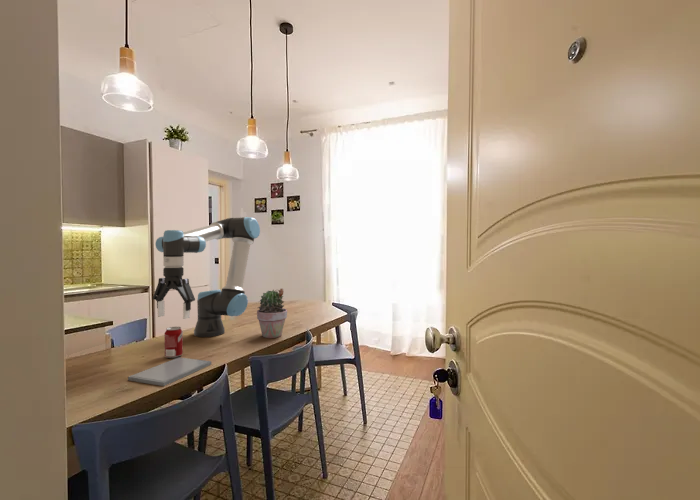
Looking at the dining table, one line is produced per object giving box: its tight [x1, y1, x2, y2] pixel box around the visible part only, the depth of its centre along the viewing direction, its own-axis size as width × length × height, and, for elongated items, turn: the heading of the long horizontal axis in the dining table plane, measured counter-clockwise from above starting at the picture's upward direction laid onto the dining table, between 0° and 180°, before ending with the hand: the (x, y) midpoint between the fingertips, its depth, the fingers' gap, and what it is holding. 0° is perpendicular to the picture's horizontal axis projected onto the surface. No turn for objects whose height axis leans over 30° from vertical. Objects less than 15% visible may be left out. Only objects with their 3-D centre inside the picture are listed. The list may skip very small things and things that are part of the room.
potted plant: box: [253, 288, 288, 339], centre depth 175 cm, size 18×20×25 cm
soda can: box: [163, 326, 184, 359], centre depth 140 cm, size 7×7×12 cm
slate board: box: [127, 356, 212, 387], centre depth 123 cm, size 22×16×1 cm
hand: (173, 317), depth 140 cm, fingers open, 13 cm apart
